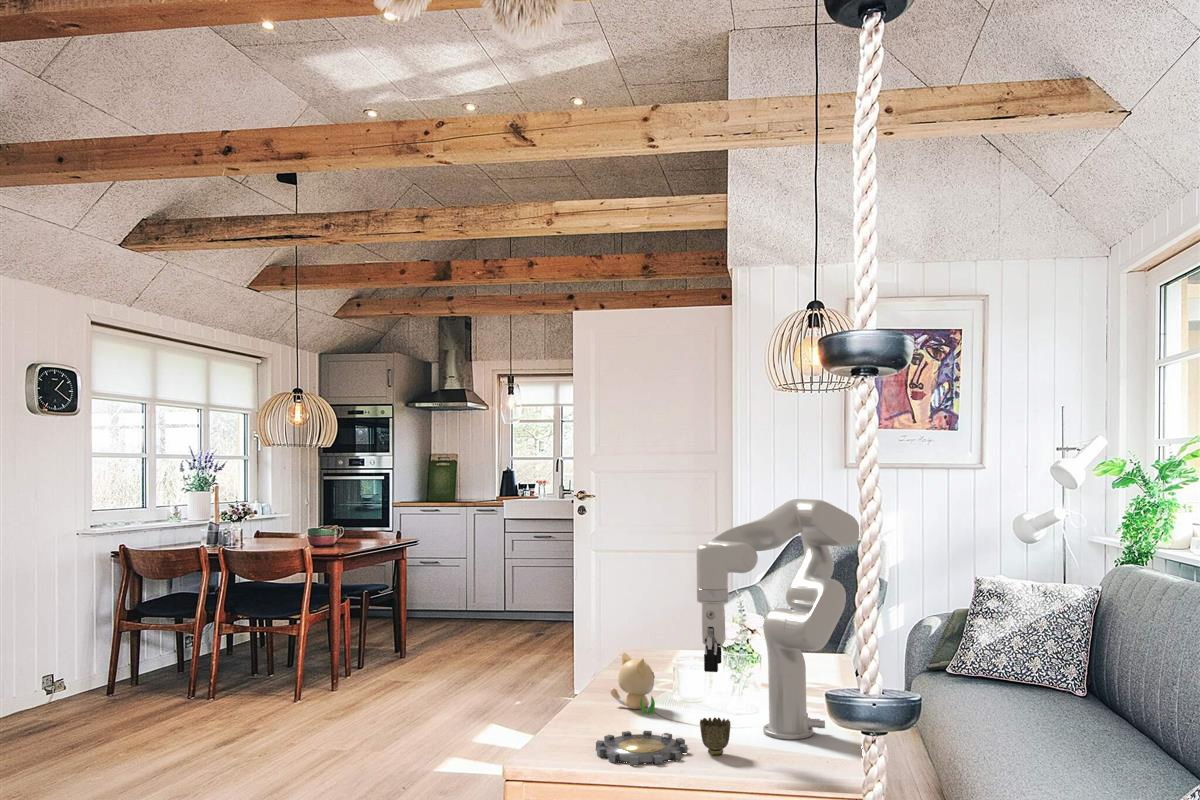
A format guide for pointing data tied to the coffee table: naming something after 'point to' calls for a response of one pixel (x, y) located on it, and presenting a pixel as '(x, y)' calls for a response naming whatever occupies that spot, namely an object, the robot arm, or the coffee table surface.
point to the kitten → (635, 684)
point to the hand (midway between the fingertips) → (713, 667)
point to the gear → (641, 748)
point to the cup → (715, 735)
